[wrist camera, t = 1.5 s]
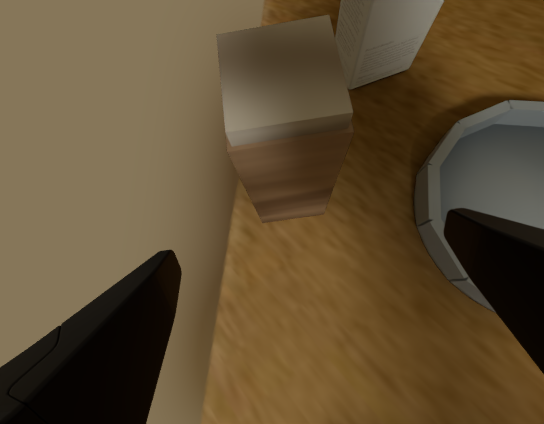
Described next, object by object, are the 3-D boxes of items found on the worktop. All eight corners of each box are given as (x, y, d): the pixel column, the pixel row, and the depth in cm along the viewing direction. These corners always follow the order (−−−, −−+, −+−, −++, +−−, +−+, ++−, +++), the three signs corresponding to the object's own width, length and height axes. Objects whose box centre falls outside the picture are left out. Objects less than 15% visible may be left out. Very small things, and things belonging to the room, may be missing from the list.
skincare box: (388, 38, 26) (462, -162, 15) (410, 73, 25) (510, -116, 13) (328, 59, 26) (354, -126, 14) (347, 95, 25) (392, -75, 13)
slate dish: (671, 343, 18) (730, 352, 15) (413, 307, 20) (430, 310, 17) (622, 127, 22) (662, 108, 19) (413, 115, 24) (426, 95, 21)
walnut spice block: (323, 214, 22) (360, 116, 10) (262, 223, 22) (220, 138, 10) (313, 158, 23) (333, 9, 11) (255, 167, 24) (211, 31, 11)
